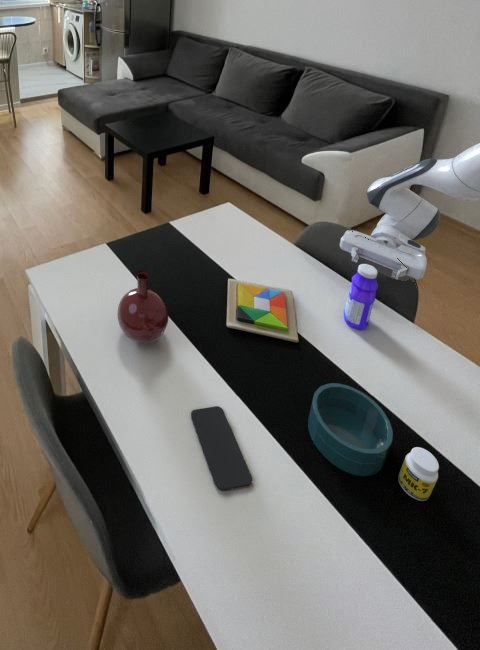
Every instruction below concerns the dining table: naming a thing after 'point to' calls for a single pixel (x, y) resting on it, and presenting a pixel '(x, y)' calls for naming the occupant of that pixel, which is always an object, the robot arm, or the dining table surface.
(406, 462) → the supplement bottle
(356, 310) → the bottle
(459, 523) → the dining table surface
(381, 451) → the teal bowl
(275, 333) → the wooden puzzle
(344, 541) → the dining table surface
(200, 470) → the dining table surface
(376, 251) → the robot arm
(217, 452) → the phone
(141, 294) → the round-bottom flask
